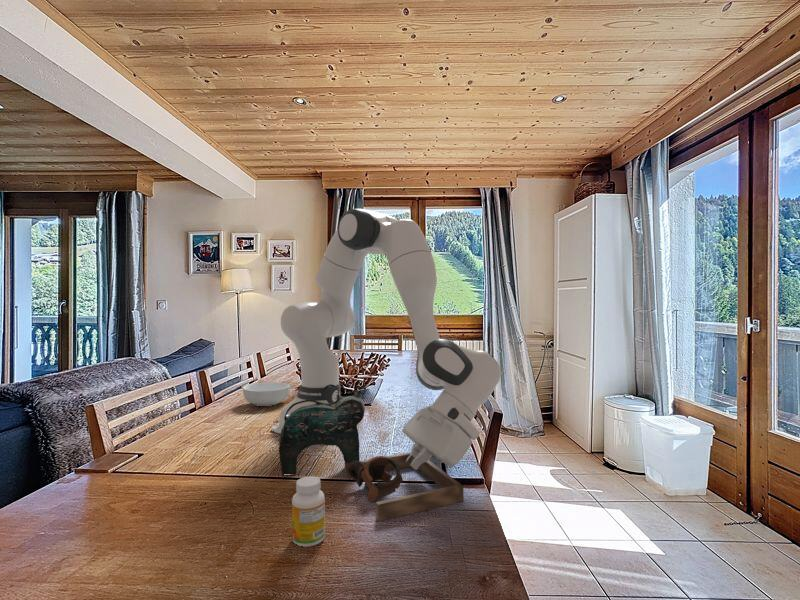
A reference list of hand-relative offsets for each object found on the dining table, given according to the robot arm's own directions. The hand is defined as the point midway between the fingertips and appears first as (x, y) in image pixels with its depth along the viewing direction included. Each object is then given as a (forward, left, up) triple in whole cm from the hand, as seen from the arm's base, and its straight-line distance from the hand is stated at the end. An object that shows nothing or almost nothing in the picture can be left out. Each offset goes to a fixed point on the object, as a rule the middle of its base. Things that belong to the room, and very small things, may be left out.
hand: (410, 465), depth 92 cm
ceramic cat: (-22, -2, -5) cm, 22 cm away
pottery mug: (-6, -6, -5) cm, 9 cm away
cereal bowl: (-80, +38, -5) cm, 88 cm away
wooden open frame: (-1, -2, -4) cm, 5 cm away
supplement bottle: (-6, -26, -5) cm, 27 cm away
